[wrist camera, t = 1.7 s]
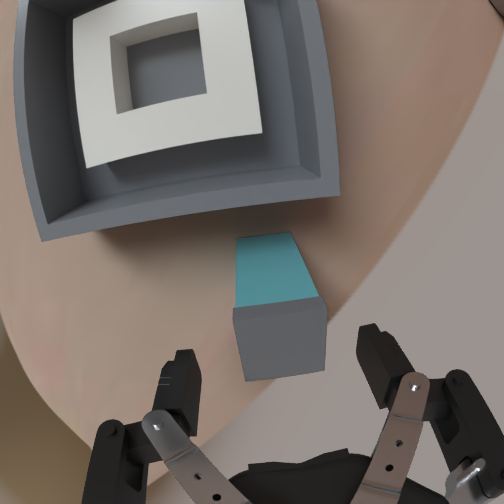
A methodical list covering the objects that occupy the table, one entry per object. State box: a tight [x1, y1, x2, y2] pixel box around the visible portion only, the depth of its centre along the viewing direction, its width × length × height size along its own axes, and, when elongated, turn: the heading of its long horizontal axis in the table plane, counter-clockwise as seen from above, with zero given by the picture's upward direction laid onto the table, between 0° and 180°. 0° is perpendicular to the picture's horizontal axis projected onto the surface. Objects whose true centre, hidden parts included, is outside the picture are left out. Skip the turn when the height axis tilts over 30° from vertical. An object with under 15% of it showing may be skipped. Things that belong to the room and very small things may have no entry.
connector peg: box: [233, 232, 327, 382], centre depth 18 cm, size 4×4×10 cm
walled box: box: [13, 0, 340, 242], centre depth 13 cm, size 18×18×6 cm
